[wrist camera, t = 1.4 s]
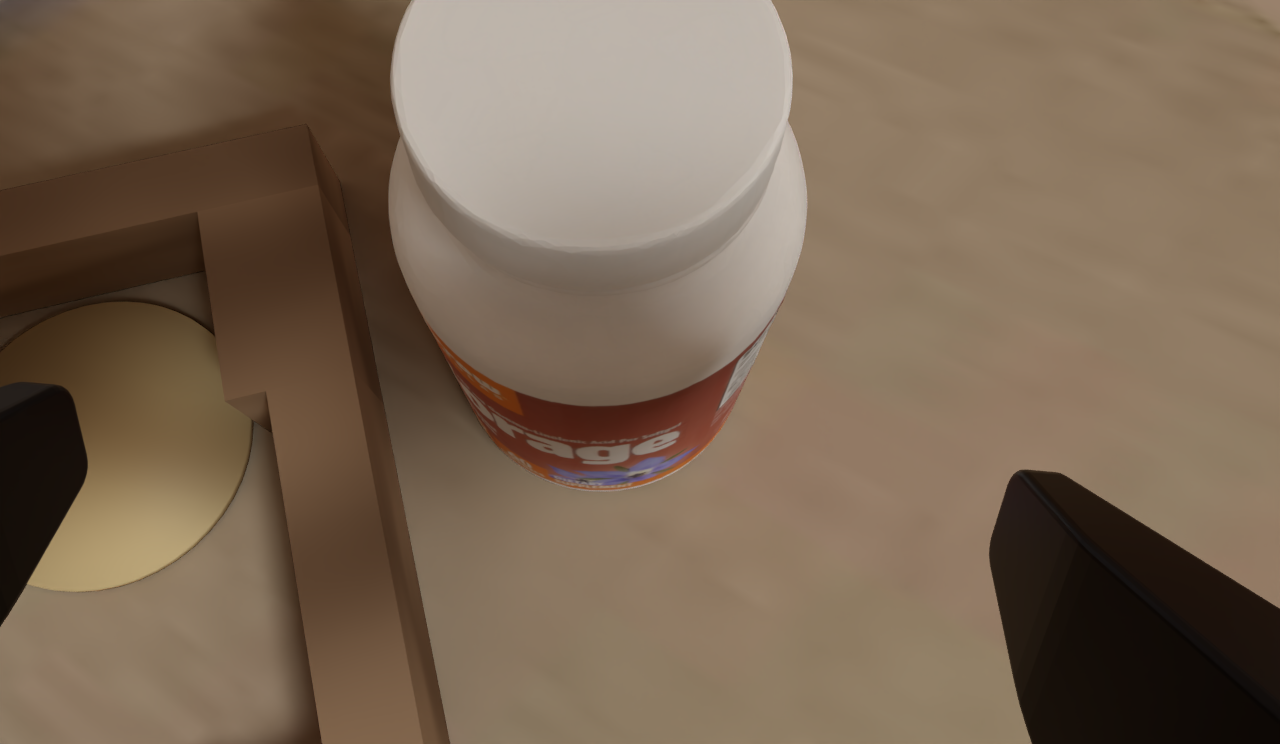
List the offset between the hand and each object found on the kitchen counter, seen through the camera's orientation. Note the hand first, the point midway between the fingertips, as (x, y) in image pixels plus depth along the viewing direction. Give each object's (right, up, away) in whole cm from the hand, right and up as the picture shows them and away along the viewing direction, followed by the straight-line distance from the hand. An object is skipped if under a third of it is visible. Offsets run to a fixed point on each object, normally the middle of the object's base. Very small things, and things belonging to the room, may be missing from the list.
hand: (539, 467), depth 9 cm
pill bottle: (0, +1, +13) cm, 13 cm away
